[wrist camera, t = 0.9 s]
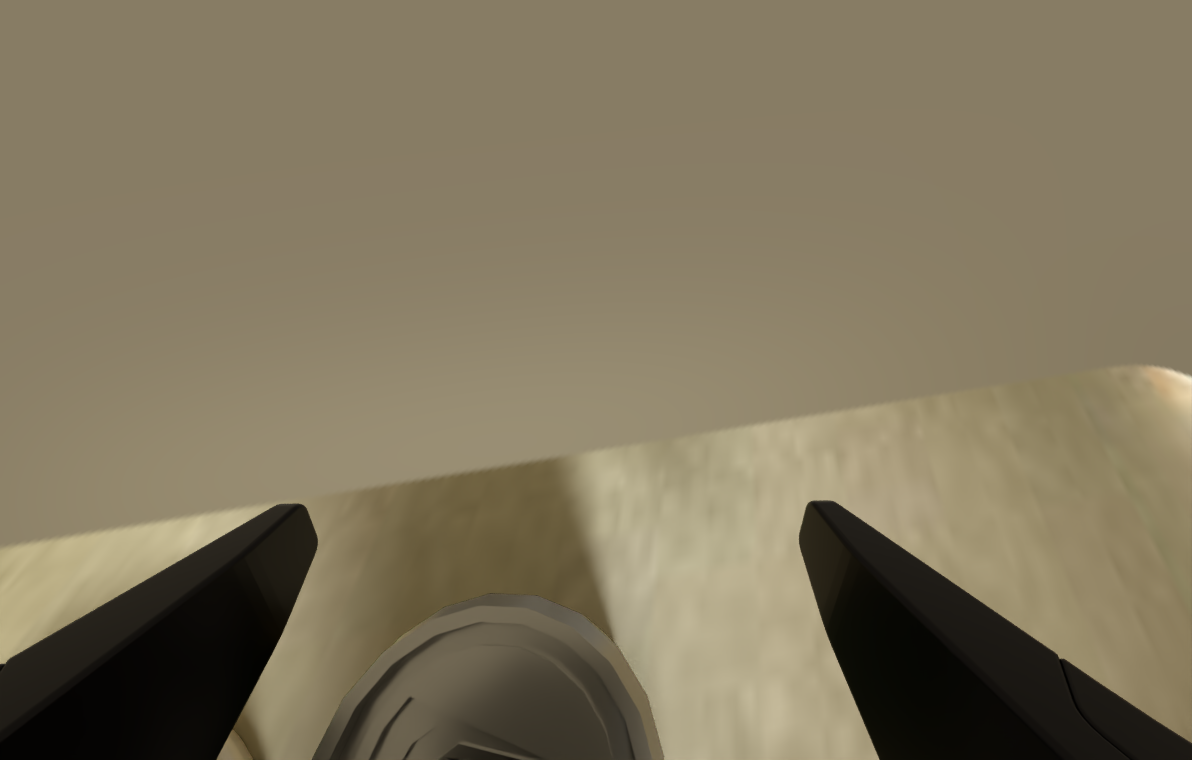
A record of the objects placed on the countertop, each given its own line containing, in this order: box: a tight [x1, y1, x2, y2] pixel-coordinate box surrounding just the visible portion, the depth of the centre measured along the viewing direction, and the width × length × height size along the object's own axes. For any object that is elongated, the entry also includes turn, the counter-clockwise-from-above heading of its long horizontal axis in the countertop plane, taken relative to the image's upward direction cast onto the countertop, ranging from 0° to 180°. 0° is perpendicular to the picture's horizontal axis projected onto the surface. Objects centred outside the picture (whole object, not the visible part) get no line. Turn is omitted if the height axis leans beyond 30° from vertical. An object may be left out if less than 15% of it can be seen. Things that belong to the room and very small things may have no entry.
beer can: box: [312, 593, 664, 760], centre depth 12 cm, size 5×5×12 cm
